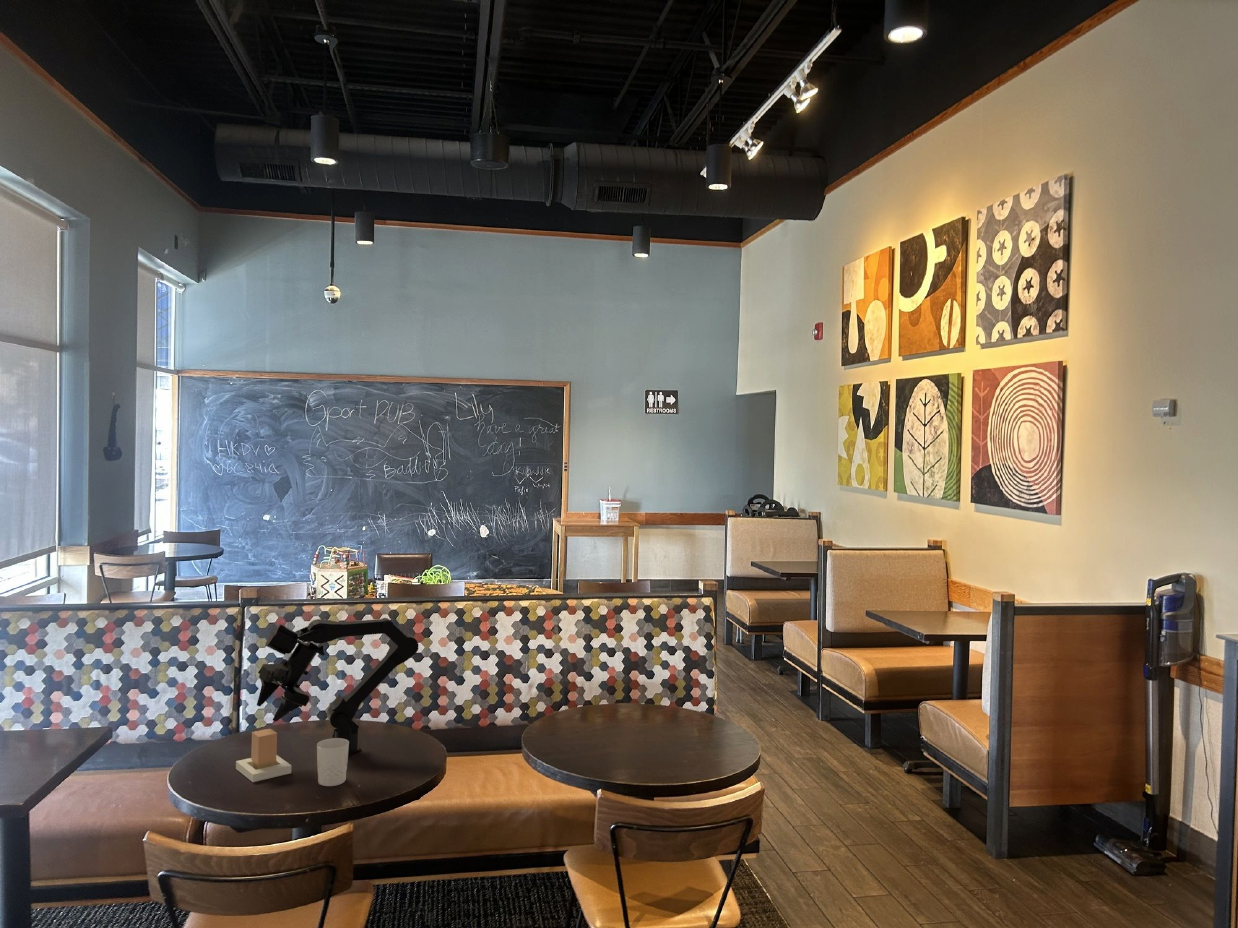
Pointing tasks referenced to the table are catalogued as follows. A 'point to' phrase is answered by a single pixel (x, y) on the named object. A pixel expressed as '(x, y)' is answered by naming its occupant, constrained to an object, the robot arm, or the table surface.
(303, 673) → the robot arm
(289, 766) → the socket
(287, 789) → the table surface
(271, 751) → the plug
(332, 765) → the white cup
